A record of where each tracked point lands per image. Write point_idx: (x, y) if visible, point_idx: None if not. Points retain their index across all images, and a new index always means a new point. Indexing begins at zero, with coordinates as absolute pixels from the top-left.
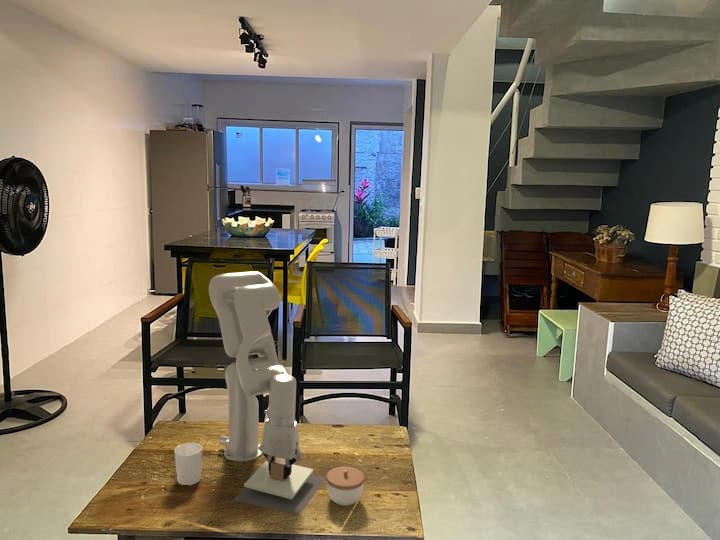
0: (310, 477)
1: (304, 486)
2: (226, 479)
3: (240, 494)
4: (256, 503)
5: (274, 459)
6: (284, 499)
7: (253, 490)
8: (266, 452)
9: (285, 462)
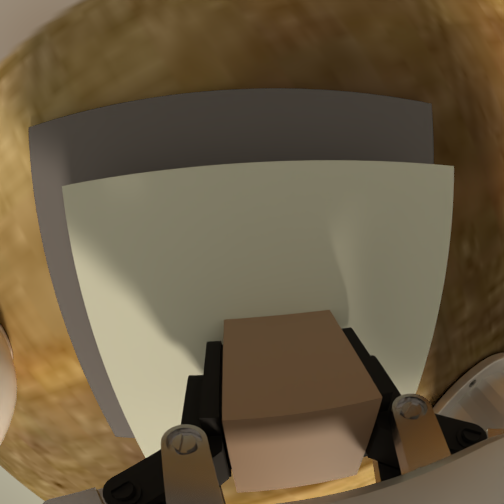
0: None
1: None
2: (497, 256)
3: (426, 159)
4: (308, 106)
5: (364, 445)
6: None
7: None
8: (498, 459)
9: (213, 463)
